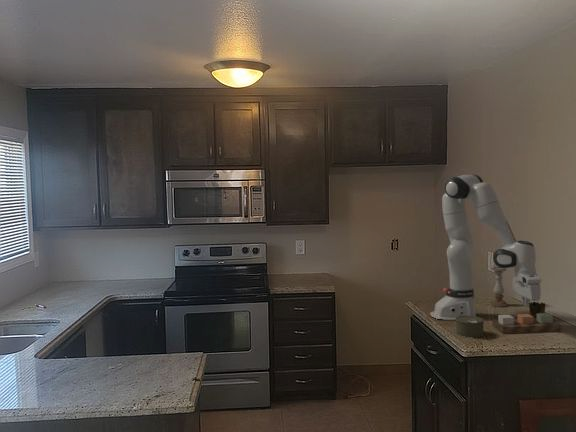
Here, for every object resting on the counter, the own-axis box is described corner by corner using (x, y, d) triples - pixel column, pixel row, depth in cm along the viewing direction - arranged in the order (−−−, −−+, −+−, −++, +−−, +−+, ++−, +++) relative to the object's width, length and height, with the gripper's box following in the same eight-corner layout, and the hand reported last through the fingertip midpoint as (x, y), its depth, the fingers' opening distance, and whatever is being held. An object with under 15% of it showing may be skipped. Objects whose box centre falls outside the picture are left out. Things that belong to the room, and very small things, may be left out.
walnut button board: (503, 333, 240) (503, 327, 240) (492, 326, 252) (492, 320, 252) (560, 331, 241) (560, 324, 240) (546, 323, 253) (546, 317, 252)
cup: (526, 319, 261) (526, 303, 260) (532, 316, 266) (532, 300, 265) (542, 322, 255) (542, 305, 255) (547, 319, 260) (547, 302, 260)
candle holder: (496, 302, 296) (496, 266, 295) (511, 305, 289) (510, 268, 288) (487, 305, 291) (486, 268, 290) (501, 308, 284) (501, 270, 283)
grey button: (503, 325, 243) (502, 317, 243) (498, 322, 248) (498, 315, 248) (513, 325, 243) (513, 317, 243) (509, 322, 248) (508, 314, 248)
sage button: (541, 323, 244) (541, 316, 243) (536, 320, 249) (536, 313, 248) (552, 323, 244) (552, 315, 244) (547, 320, 249) (547, 313, 249)
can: (475, 329, 248) (475, 314, 248) (489, 337, 236) (488, 321, 236) (451, 331, 247) (451, 316, 246) (463, 339, 235) (463, 323, 234)
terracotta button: (522, 324, 243) (522, 317, 243) (517, 321, 248) (517, 314, 248) (533, 324, 244) (533, 316, 243) (528, 321, 249) (528, 313, 248)
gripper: (508, 272, 255) (509, 301, 256) (529, 280, 234) (529, 311, 235) (521, 272, 255) (522, 300, 256) (543, 280, 234) (543, 311, 235)
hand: (525, 306), depth 245 cm, fingers closed
